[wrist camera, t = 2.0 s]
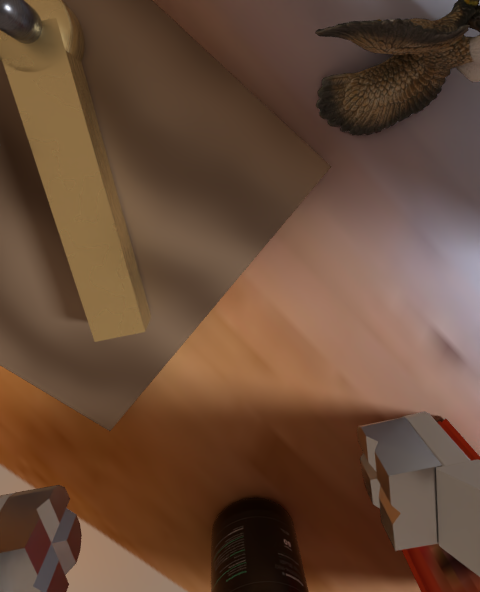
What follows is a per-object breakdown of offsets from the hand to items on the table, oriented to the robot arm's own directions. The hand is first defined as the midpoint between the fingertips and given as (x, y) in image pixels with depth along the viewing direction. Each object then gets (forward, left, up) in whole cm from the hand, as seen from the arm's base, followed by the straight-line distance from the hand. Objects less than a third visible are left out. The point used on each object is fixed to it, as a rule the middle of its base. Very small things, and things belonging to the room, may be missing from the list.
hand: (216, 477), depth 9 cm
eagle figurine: (-16, 0, -20) cm, 25 cm away
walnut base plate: (+2, -10, -19) cm, 22 cm away
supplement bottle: (+16, +16, -19) cm, 30 cm away
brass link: (0, -9, -18) cm, 20 cm away
